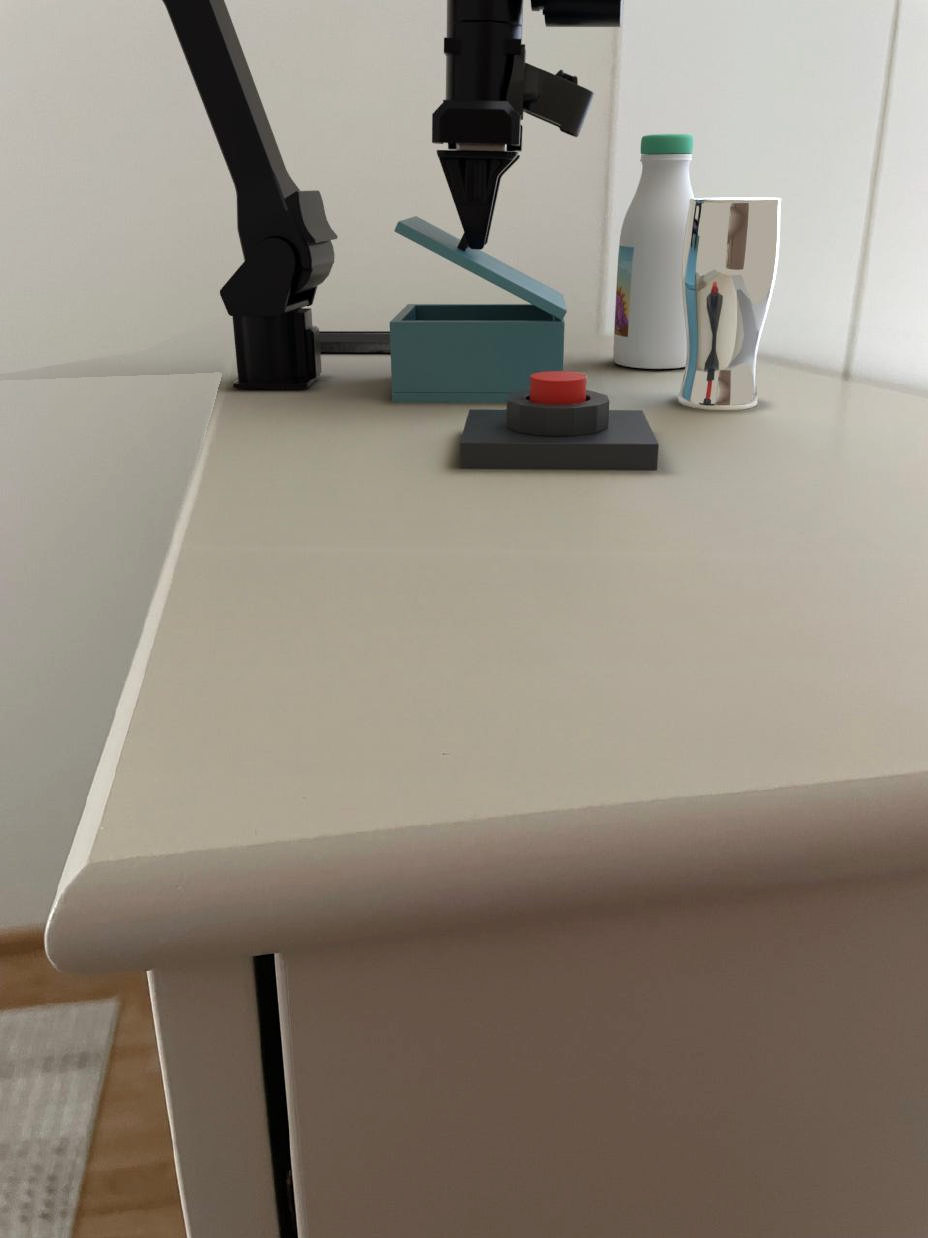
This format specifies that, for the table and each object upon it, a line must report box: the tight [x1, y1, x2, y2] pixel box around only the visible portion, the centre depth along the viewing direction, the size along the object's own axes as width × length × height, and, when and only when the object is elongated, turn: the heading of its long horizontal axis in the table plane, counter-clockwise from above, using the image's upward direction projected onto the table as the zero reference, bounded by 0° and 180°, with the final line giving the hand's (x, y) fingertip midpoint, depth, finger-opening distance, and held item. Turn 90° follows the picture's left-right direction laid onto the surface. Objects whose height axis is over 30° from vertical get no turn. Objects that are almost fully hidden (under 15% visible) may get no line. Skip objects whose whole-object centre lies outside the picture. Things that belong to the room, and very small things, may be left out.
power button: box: [530, 370, 588, 404], centre depth 66 cm, size 4×4×2 cm
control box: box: [459, 389, 660, 471], centre depth 67 cm, size 12×10×4 cm
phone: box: [319, 330, 391, 353], centre depth 110 cm, size 8×1×15 cm
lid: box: [393, 215, 568, 320], centre depth 84 cm, size 14×13×5 cm
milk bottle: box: [613, 133, 695, 370], centre depth 96 cm, size 8×8×20 cm
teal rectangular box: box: [389, 303, 566, 403], centre depth 87 cm, size 14×13×6 cm
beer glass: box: [677, 197, 782, 411], centre depth 79 cm, size 7×7×15 cm
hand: (478, 246), depth 84 cm, fingers closed on lid, 6 cm apart
